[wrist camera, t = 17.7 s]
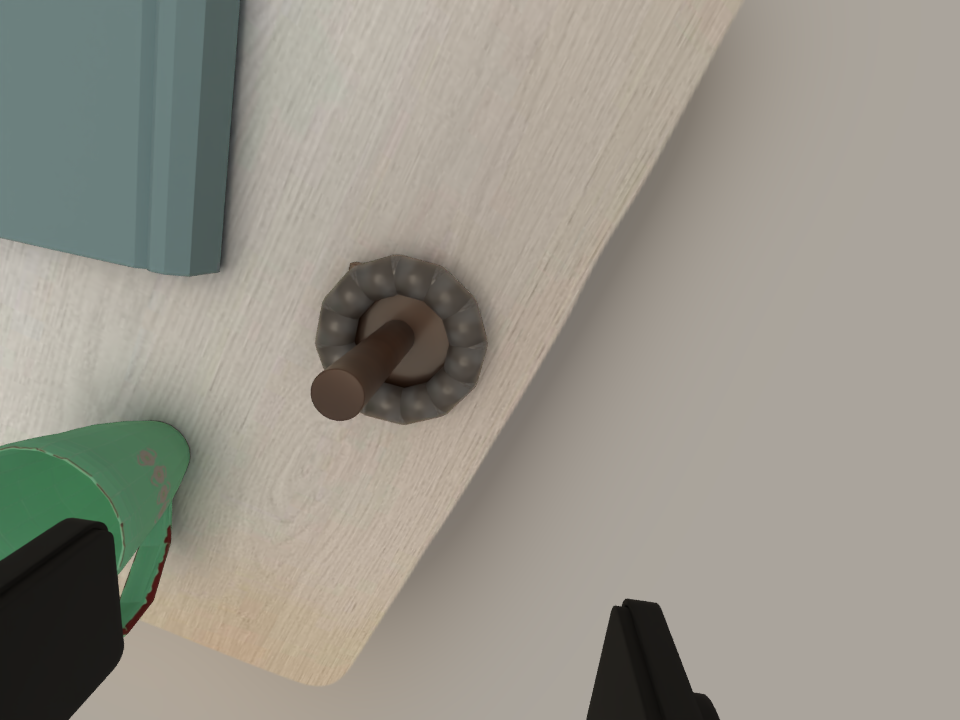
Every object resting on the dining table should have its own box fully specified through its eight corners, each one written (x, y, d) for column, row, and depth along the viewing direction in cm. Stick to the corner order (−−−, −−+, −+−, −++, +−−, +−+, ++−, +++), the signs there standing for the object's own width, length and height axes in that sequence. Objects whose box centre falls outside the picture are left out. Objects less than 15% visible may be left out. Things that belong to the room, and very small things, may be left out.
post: (355, 261, 33) (260, 281, 20) (471, 292, 33) (448, 332, 21) (333, 372, 35) (235, 453, 23) (442, 401, 35) (406, 498, 23)
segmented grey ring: (341, 236, 32) (328, 237, 29) (505, 281, 32) (504, 285, 30) (312, 391, 34) (298, 403, 32) (463, 432, 35) (460, 446, 32)
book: (-23, -192, 28) (-134, -280, 23) (258, -128, 28) (206, -203, 23) (-6, 219, 34) (-91, 217, 29) (226, 271, 34) (179, 277, 29)
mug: (79, 392, 37) (-73, 451, 27) (206, 384, 36) (96, 441, 26) (130, 564, 40) (12, 669, 31) (247, 559, 40) (163, 666, 30)
